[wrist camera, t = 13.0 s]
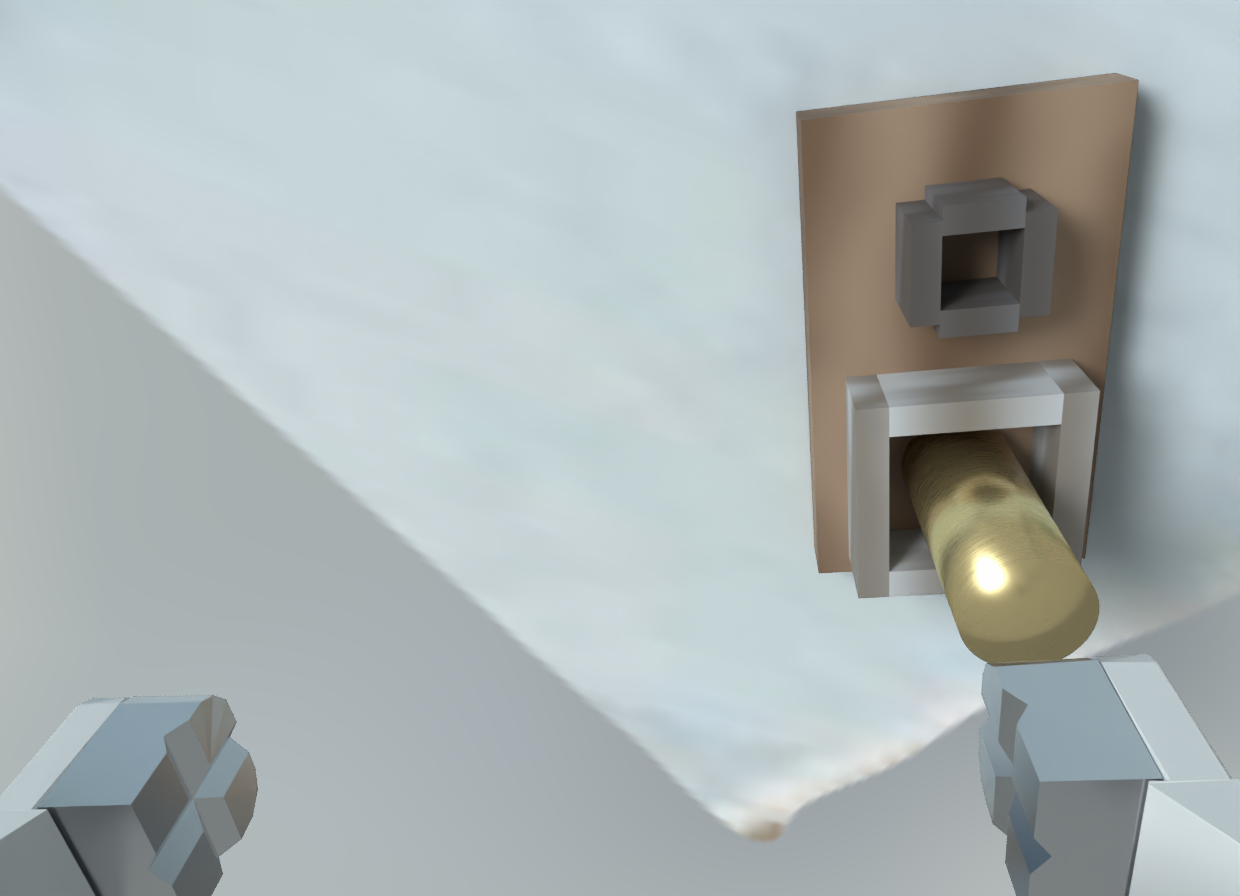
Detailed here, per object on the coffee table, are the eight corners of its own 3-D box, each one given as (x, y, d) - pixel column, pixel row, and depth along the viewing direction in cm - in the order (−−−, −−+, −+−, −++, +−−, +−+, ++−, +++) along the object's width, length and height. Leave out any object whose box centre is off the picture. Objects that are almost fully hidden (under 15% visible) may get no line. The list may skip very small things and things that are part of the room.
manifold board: (1115, 72, 33) (1178, 92, 29) (1069, 532, 42) (1111, 601, 37) (796, 111, 35) (808, 135, 30) (814, 547, 43) (826, 615, 39)
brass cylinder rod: (1012, 412, 37) (1106, 556, 28) (1006, 503, 39) (1092, 666, 30) (901, 420, 38) (959, 564, 29) (901, 510, 40) (955, 671, 31)
